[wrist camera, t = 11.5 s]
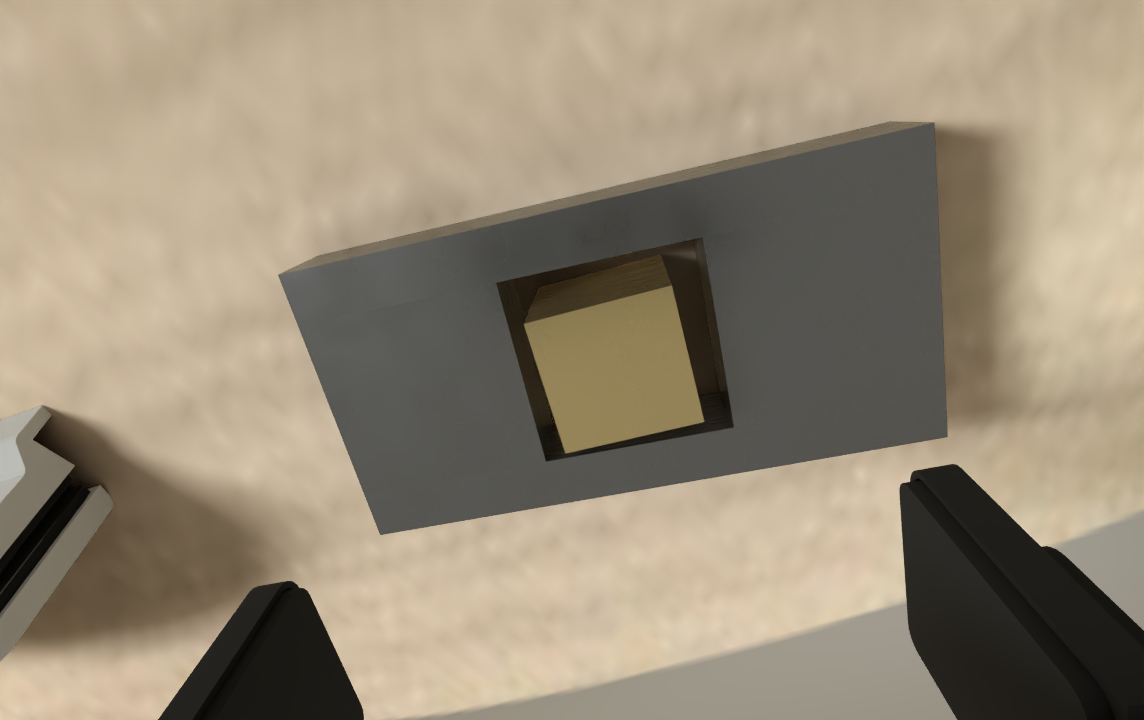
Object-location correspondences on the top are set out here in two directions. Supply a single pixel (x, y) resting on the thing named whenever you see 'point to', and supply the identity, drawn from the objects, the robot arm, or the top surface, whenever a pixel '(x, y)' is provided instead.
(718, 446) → the grey square hole block
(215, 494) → the top surface
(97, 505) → the hinge
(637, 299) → the brass cube
